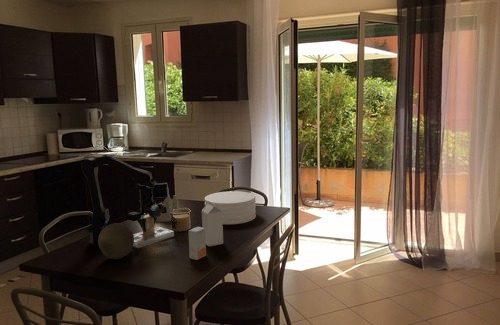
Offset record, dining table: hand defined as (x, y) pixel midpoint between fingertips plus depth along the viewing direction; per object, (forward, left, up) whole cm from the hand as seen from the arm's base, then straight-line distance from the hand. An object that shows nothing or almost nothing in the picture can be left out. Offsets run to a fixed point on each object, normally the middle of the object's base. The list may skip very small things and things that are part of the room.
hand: (148, 230), depth 185 cm
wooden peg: (0, 0, -4) cm, 4 cm away
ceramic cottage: (+28, +24, -5) cm, 37 cm away
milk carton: (+15, -28, -4) cm, 32 cm away
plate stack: (+50, -5, -5) cm, 51 cm away
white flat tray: (0, 0, -4) cm, 4 cm away
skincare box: (0, -35, -4) cm, 35 cm away
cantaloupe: (-22, -10, -4) cm, 25 cm away
